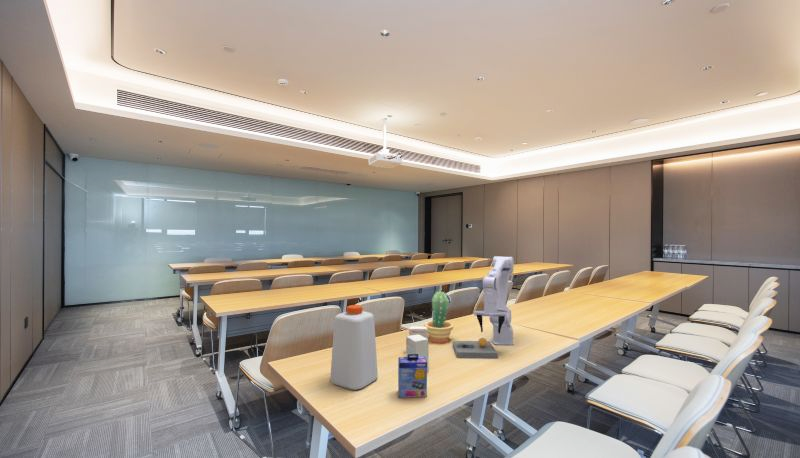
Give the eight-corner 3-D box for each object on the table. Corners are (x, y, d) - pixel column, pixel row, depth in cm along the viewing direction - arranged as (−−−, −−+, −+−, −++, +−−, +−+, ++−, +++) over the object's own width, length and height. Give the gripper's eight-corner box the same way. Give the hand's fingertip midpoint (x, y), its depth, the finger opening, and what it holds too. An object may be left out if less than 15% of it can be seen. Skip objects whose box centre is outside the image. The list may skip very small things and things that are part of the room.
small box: (428, 371, 135) (428, 339, 135) (415, 374, 132) (415, 341, 132) (419, 364, 142) (419, 333, 142) (405, 367, 139) (405, 335, 140)
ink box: (427, 351, 158) (427, 326, 158) (427, 355, 153) (427, 329, 153) (409, 350, 159) (409, 325, 159) (409, 354, 154) (409, 328, 154)
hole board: (489, 346, 165) (489, 341, 165) (497, 358, 149) (497, 352, 149) (452, 345, 165) (452, 340, 166) (457, 357, 150) (457, 352, 150)
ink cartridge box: (398, 398, 113) (398, 355, 113) (397, 390, 119) (397, 349, 119) (427, 397, 114) (427, 354, 114) (425, 389, 119) (425, 349, 120)
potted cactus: (456, 344, 167) (456, 294, 167) (425, 344, 167) (425, 294, 167) (451, 335, 182) (451, 289, 183) (423, 335, 183) (423, 289, 183)
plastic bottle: (357, 393, 117) (357, 313, 117) (325, 383, 125) (325, 307, 125) (382, 377, 129) (382, 305, 130) (351, 369, 137) (352, 300, 138)
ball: (485, 345, 159) (485, 336, 159) (487, 348, 155) (487, 339, 155) (477, 345, 159) (477, 336, 159) (479, 348, 155) (479, 339, 155)
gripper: (474, 303, 153) (474, 333, 153) (507, 305, 150) (507, 335, 150) (474, 300, 160) (474, 329, 159) (506, 302, 157) (506, 331, 156)
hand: (490, 332), depth 155 cm, fingers open, 7 cm apart
